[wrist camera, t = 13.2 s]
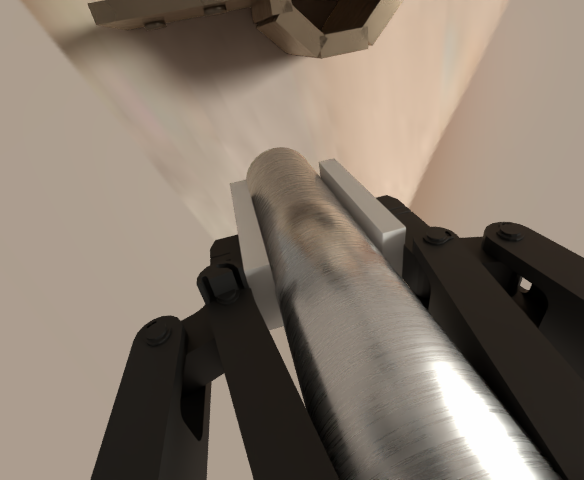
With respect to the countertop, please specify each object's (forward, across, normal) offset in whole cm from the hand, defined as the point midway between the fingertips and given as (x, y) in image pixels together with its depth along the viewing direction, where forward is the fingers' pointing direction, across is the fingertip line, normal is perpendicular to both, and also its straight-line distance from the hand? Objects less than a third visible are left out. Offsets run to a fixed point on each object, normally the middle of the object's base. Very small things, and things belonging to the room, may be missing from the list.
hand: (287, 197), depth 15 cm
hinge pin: (+2, 0, 0) cm, 2 cm away
